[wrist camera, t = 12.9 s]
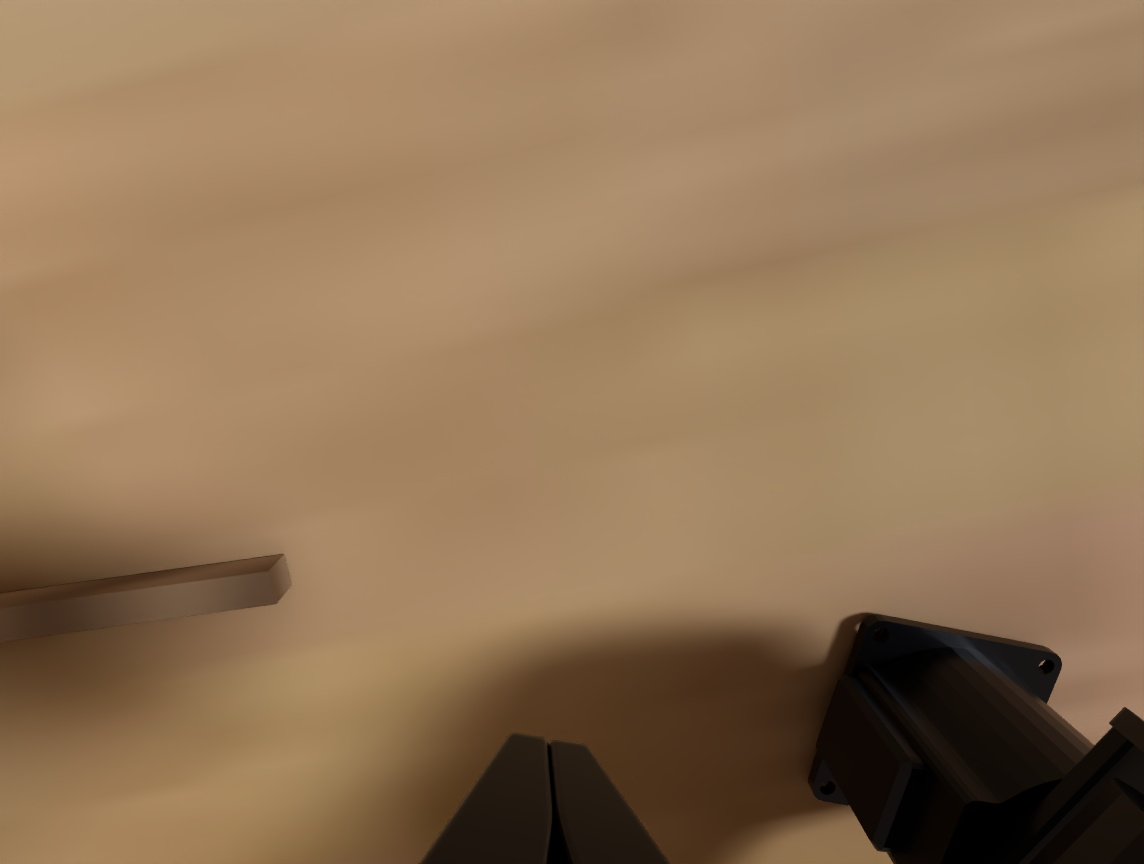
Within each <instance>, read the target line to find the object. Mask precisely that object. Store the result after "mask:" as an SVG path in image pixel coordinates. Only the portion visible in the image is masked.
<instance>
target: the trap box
mask: <svg viewBox="0 0 1144 864" xmlns="http://www.w3.org/2000/svg"><path fill="white" fill-rule="evenodd" d="M290 586H291V581H290V577H289V573H288V569H287V565H286V561H285V557H284V554H282V555H275V556H267V557H260V558H253V559H246V560H238V561H231V562H224V563H217V564H209V565H202V566H195V567H188V568H180V569H173V570H166V571H159V572H151V573H144V574H137V575H130V576H122V577H115V578H108V579H101V580H94V581H86V582H79V583H72V584H65V585H57V586H50V587H43V588H36V589H28V590H21V591H14V592H7V593H0V642H6V641H13V640H20V639H28V638H35V637H42V636H49V635H56V634H64V633H71V632H78V631H85V630H92V629H100V628H107V627H114V626H121V625H129V624H136V623H143V622H150V621H157V620H165V619H172V618H179V617H186V616H193V615H201V614H208V613H215V612H222V611H229V610H237V609H244V608H251V607H258V606H266V605H273V604H277V603H278V601H279V600H280V599H281V598H282V596H283V595H284V594H285V593H286V591H287V590H288V589H289V588H290Z"/></svg>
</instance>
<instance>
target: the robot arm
mask: <svg viewBox="0 0 1144 864" xmlns="http://www.w3.org/2000/svg"><path fill="white" fill-rule="evenodd" d="M879 628H883V631H882V632H881V634H880V635H878V636H873V633H874V632H875V630H877V629H879ZM1044 660H1045V662H1044V663H1043V665H1041V666H1039V664H1040V663H1041V662H1042V661H1044ZM1061 667H1062V662H1061V658H1060V657H1059V656H1058V655H1057V654H1056V653H1054V652H1053V651H1052V650H1050V649H1049V648H1047V647H1045V646H1041V645H1036V644H1031V643H1025V642H1020V641H1015V640H1010V639H1005V638H999V637H994V636H989V635H984V634H979V633H973V632H968V631H963V630H958V629H952V628H947V627H942V626H937V625H932V624H926V623H921V622H916V621H911V620H906V619H900V618H895V617H890V616H885V615H871V616H868V617H867V618H866V619H864V620H863V621H862V623H861V625H860V627H859V630H858V633H857V636H856V639H855V642H854V645H853V648H852V650H851V653H850V656H849V659H848V662H847V665H846V668H845V671H844V674H843V676H842V677H841V678H840V679H839V680H838V681H837V684H836V687H835V690H834V693H833V696H832V699H831V702H830V705H829V708H828V711H827V714H826V717H825V720H824V723H823V726H822V729H821V732H820V735H819V738H818V740H817V744H816V747H817V749H818V750H817V753H816V756H815V759H814V762H813V765H812V768H811V771H810V774H809V777H808V783H809V786H810V788H811V790H812V792H813V794H814V796H815V797H816V798H817V799H819V800H822V801H826V802H832V803H838V804H844V805H850V807H851V808H852V810H853V812H854V814H855V815H856V817H857V819H858V821H859V822H860V824H861V826H862V828H863V829H864V831H865V833H866V835H867V836H868V838H869V840H870V841H871V843H872V845H873V846H874V848H875V849H876V850H877V851H881V852H887V853H888V855H889V857H890V858H891V860H892V862H893V864H1144V720H1143V719H1141V718H1140V717H1138V716H1137V715H1136V714H1134V713H1133V712H1131V711H1130V710H1129V709H1127V708H1126V707H1124V708H1123V709H1122V710H1121V711H1120V712H1119V713H1118V714H1117V715H1116V716H1115V717H1114V718H1113V719H1112V720H1111V721H1110V722H1109V724H1110V725H1112V726H1113V727H1112V728H1111V729H1110V730H1109V731H1108V732H1107V733H1106V734H1105V735H1104V736H1103V737H1102V738H1101V739H1100V740H1099V741H1098V742H1097V744H1096V745H1094V744H1092V743H1091V742H1090V741H1089V740H1088V739H1087V738H1085V737H1084V736H1083V735H1082V734H1081V733H1080V732H1078V731H1077V730H1076V729H1075V728H1074V727H1073V726H1072V725H1070V724H1069V723H1068V722H1067V721H1066V720H1065V719H1063V718H1062V717H1061V716H1060V715H1059V714H1058V713H1056V712H1055V711H1054V710H1053V709H1052V708H1051V707H1050V706H1048V705H1047V702H1048V700H1049V697H1050V695H1051V692H1052V690H1053V688H1054V685H1055V683H1056V680H1057V678H1058V676H1059V673H1060V671H1061ZM826 781H830V782H829V783H828V784H827V785H825V786H821V785H822V783H824V782H826ZM419 864H670V863H669V861H668V860H667V858H666V857H665V856H664V854H663V853H662V851H661V850H660V849H659V847H658V846H657V844H656V843H655V841H654V840H653V839H652V837H651V836H650V834H649V833H648V831H647V830H646V829H645V827H644V826H643V824H642V823H641V822H640V820H639V819H638V817H637V816H636V814H635V813H634V812H633V810H632V809H631V807H630V806H629V805H628V803H627V802H626V800H625V799H624V797H623V796H622V795H621V793H620V792H619V790H618V789H617V788H616V786H615V785H614V783H613V782H612V780H611V779H610V778H609V776H608V775H607V773H606V772H605V770H604V769H603V768H602V766H601V765H600V763H599V762H598V761H597V759H596V758H595V756H594V755H593V753H592V752H591V751H590V749H589V748H588V747H587V746H586V745H585V744H583V743H578V742H572V741H566V740H560V739H551V740H550V741H549V742H548V743H547V740H546V739H545V738H544V737H541V736H536V735H530V734H524V733H518V732H512V733H510V734H509V735H508V736H507V737H506V739H505V740H504V742H503V743H502V745H501V746H500V747H499V749H498V750H497V752H496V753H495V755H494V756H493V757H492V759H491V760H490V762H489V763H488V765H487V766H486V768H485V769H484V770H483V772H482V773H481V775H480V776H479V778H478V779H477V780H476V782H475V783H474V785H473V786H472V788H471V789H470V791H469V792H468V793H467V795H466V796H465V798H464V799H463V801H462V802H461V804H460V805H459V806H458V808H457V809H456V811H455V812H454V814H453V815H452V816H451V818H450V819H449V821H448V822H447V824H446V825H445V827H444V828H443V829H442V831H441V832H440V834H439V835H438V837H437V838H436V839H435V841H434V842H433V844H432V845H431V847H430V848H429V850H428V851H427V852H426V854H425V855H424V857H423V858H422V860H421V861H420V863H419Z"/></svg>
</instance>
